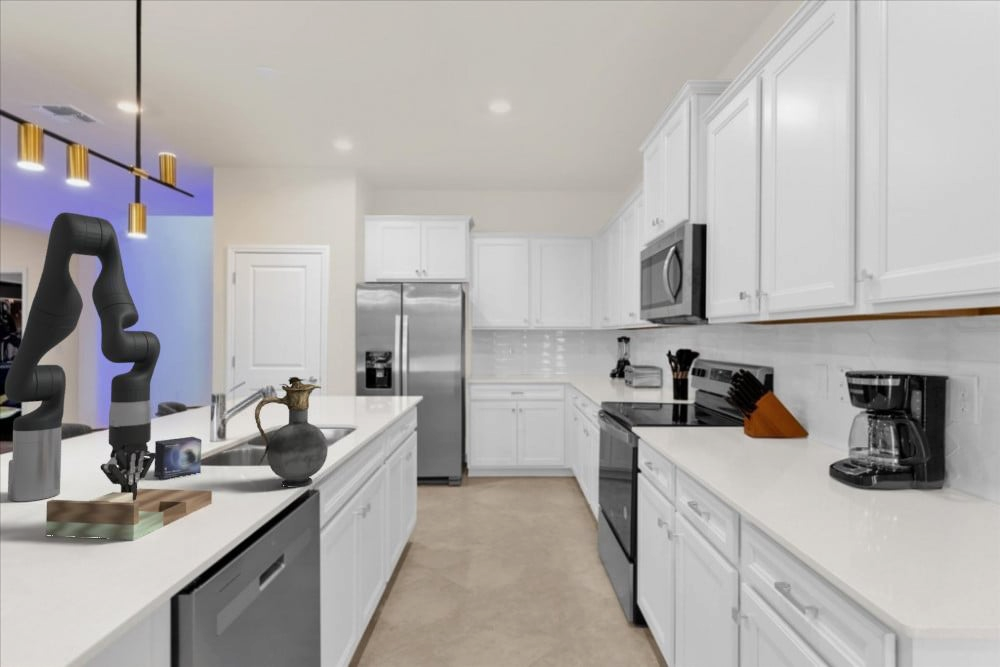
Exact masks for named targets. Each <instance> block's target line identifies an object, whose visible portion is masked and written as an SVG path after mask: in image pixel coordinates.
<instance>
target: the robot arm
mask: <svg viewBox="0 0 1000 667" xmlns="http://www.w3.org/2000/svg"><path fill="white" fill-rule="evenodd" d="M121 254H122V253H121V251H120V246H119V240H118V236H117V233H116V230H115V228H114V226H113V225H112V223H111V222H110V221H109V220H107V219H104V218H100V217H97V216H90V215H84V214H78V213H73V212H61V213H59V214H57V216H56V217H55V218H54V221H53V222H52V226H51V228H50V231H49V238H48V243H47V248H46V253H45V259H44V264H43V268H42V272H41V276H40V279H39V282H38V286H37V289H36V292H35V295H34V297H33V300H32V303H31V306H30V309H29V313H28V315H27V316H28V317H27V322H26V325H25V327H24V330H23V331H24V332H23V335H22V339H21V341H20V344H19V347H18V349H17V351H16V353H15V356H14V358H13V360H12V362H11V364H10V367H9V369H8V372H7V375H6V376H5V383H4V394H5V397H6V398H7V400H9V401H10V402H12V403H33V402H41V404H40V405H39V406H38V407H37V408H35V409H34V410H32V411H30V412H28V413H25V414H23V415H21V416H18V417H16V418H14V420H13V424H12V458H11V459H10V460H8V474H7V477H8V478H7V499H8V500H11V501H12V502H32V501H39V500H44V499H48V498H52V497H55V496H58V495H59V494H60V493H61V477H62V476H61V474H62V473H61V472H62V471H61V470H62V428H63V427H62V424H63V417H64V408H65V396H66V385H67V378H66V373H65V370H64V368H63V367H62V366H60V365H59V364H39V363H40V361H41V360H42V358H43V357H44V356H45V355H46V354H48V353H49V352H50V351H51V350H52V349H53V348H55V347H56V346H57V345H59V344H61V342H63V341H65V339H67V338H68V337H69V336H71V334H72V333H73V332H75V329H76V328H77V326H78V323H79V321H80V318H81V317H80V316H81V314H82V311H83V308H84V302H83V299H82V295H81V293H80V290H79V289H78V287H77V285H76V284H75V282H74V280H73V278H72V276H71V272H70V262H71V258H72V256H73V255H79V256H80V255H81V256H89V257H97V259H99V262H100V264H101V270H100V272H99V274H98V277H97V278H96V280H95V282H94V284H93V287H92V292H91V297H92V302H93V306H94V307H95V311H96V312H97V316H98V318H99V320H100V330H101V335H100V336H101V340H100V343H101V344H100V346H101V347H100V348H101V349H100V350H101V353H102V355H103V356H104V358H105V359H106V360H108V361H109V362H111V363H113V364H126V363H127V364H129V363H130V364H133V365H132V367H131V369H130V370H129V371H128V372H124V373H121V374H118V375H115V376H113V377H112V379H111V384H110V385H111V386H110V388H111V389H110V405H109V406H110V407H109V412H108V445H110V446H111V448H112V449H111V453H110V459H109V460H108V461H107V463H101V465H100V470H101V471H102V473H103V474H104V475H105V476H106V477H107V479H108V480H109V481H110V482H111V484H113V485H120V492H122V493H133V501H134V500H136V496H137V489H138V483H139V482H140V480H141V479H144V478H145V477H146V476H147V474H148V472H149V469H150V468H151V466H152V464H153V462H154V461H155V456H156V453H155V452H150V450H148V449H149V446H148V444H147V443H149V442H150V441H151V437H152V427H151V426H152V407H151V406H152V405H151V381H152V378H153V376H154V372H155V368H156V365H157V364H158V360H159V357H160V355H161V354H160V353H161V343H160V340H159V338H158V336H157V335H156V334H155V333H153V332H151V331H146V330H126V329H129V328H132V327H133V326H135V325H136V324H137V323H138V321H139V319H140V318H139V317H140V316H139V313H138V309H137V308H136V305H135V303H134V300H133V297H132V295H131V292H130V290H129V288H128V284H127V280H126V277H125V272H124V265H123V261H122V260H123V259H122V255H121Z"/></svg>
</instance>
